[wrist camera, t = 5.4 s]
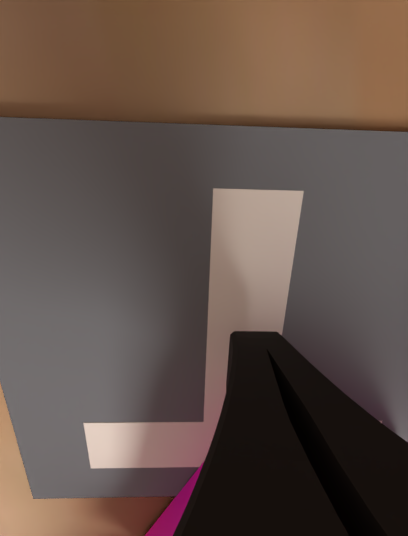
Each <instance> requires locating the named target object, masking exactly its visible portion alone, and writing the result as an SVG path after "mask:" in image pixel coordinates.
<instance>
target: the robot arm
mask: <svg viewBox="0 0 408 536" xmlns="http://www.w3.org/2000/svg"><path fill="white" fill-rule="evenodd" d="M173 536H408V442H407V441H405V440H404V439H403V438H401V437H400V436H398V435H397V434H396V433H394V432H393V431H391V430H390V429H389V428H387V427H386V426H385V425H383V424H382V423H381V422H380V421H378V420H377V419H376V418H374V417H373V416H372V415H371V414H369V413H368V412H367V411H366V410H364V409H363V408H362V407H361V406H359V405H358V404H357V403H356V402H355V401H353V400H352V399H351V398H350V397H348V396H347V395H346V394H345V393H344V392H343V391H341V390H340V389H339V388H338V387H337V386H336V385H334V384H333V383H332V382H331V381H330V380H329V379H328V378H326V377H325V376H324V375H323V374H322V373H321V372H320V371H319V370H318V369H316V368H315V367H314V366H313V365H312V364H311V363H310V362H309V361H308V360H307V359H306V358H305V357H304V356H303V355H302V354H300V353H299V352H298V351H297V350H296V349H295V348H294V347H293V346H292V345H291V344H290V343H289V342H288V341H287V340H286V339H285V338H284V337H283V336H282V335H280V334H279V333H278V332H272V331H234V332H233V333H231V334H230V342H229V354H228V367H227V379H226V395H225V399H224V403H223V406H222V410H221V414H220V417H219V421H218V424H217V427H216V430H215V433H214V436H213V439H212V442H211V445H210V448H209V450H208V453H207V456H206V458H205V461H204V464H203V466H202V469H201V471H200V474H199V476H198V479H197V481H196V484H195V487H194V489H193V491H192V494H191V496H190V498H189V501H188V503H187V505H186V508H185V510H184V512H183V514H182V517H181V519H180V521H179V523H178V525H177V527H176V530H175V532H174V534H173Z"/></svg>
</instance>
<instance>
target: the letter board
mask: <svg viewBox="0 0 408 536" xmlns="http://www.w3.org/2000/svg"><path fill="white" fill-rule="evenodd" d="M234 331H272V332H278V333H279V334H280V335H282V336H283V337H284V338H285V339H286V340H287V341H288V342H289V343H290V344H291V345H292V346H293V347H294V348H295V349H296V350H297V351H298V352H299V353H300V354H302V355H303V356H304V357H305V358H306V359H307V360H308V361H309V362H310V363H311V364H312V365H313V366H314V367H315V368H316V369H318V370H319V371H320V372H321V373H322V374H323V375H324V376H325V377H326V378H328V379H329V380H330V381H331V382H332V383H333V384H334V385H336V386H337V387H338V388H339V389H340V390H341V391H343V392H344V393H345V394H346V395H347V396H348V397H350V398H351V399H352V400H353V401H355V402H356V403H357V404H358V405H359V406H361V407H362V408H363V409H364V410H366V411H367V412H368V413H369V414H371V415H372V416H373V417H374V418H376V419H377V420H378V421H380V422H381V423H382V424H383V425H385V426H386V427H387V428H389V429H390V430H391V431H393V432H394V433H396V434H397V435H398V436H400V437H401V438H403V439H404V440H405V441H407V442H408V132H393V131H366V130H339V129H312V128H285V127H258V126H231V125H204V124H177V123H150V122H123V121H96V120H69V119H42V118H15V117H0V382H1V386H2V390H3V393H4V397H5V400H6V404H7V407H8V411H9V414H10V418H11V421H12V425H13V428H14V432H15V435H16V439H17V443H18V446H19V450H20V453H21V457H22V460H23V464H24V467H25V471H26V474H27V478H28V481H29V485H30V489H31V492H32V496H33V499H47V498H106V497H164V496H177V495H178V493H179V492H180V491H181V490H182V488H183V487H184V486H185V485H186V483H187V482H188V481H189V480H190V478H191V477H192V476H193V475H194V473H195V472H196V471H197V470H198V468H199V467H200V466H201V465H202V463H203V462H204V461H205V458H206V456H207V453H208V450H209V448H210V445H211V442H212V439H213V436H214V433H215V430H216V427H217V424H218V421H219V417H220V414H221V410H222V406H223V403H224V399H225V395H226V379H227V367H228V354H229V342H230V334H231V333H233V332H234Z"/></svg>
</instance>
